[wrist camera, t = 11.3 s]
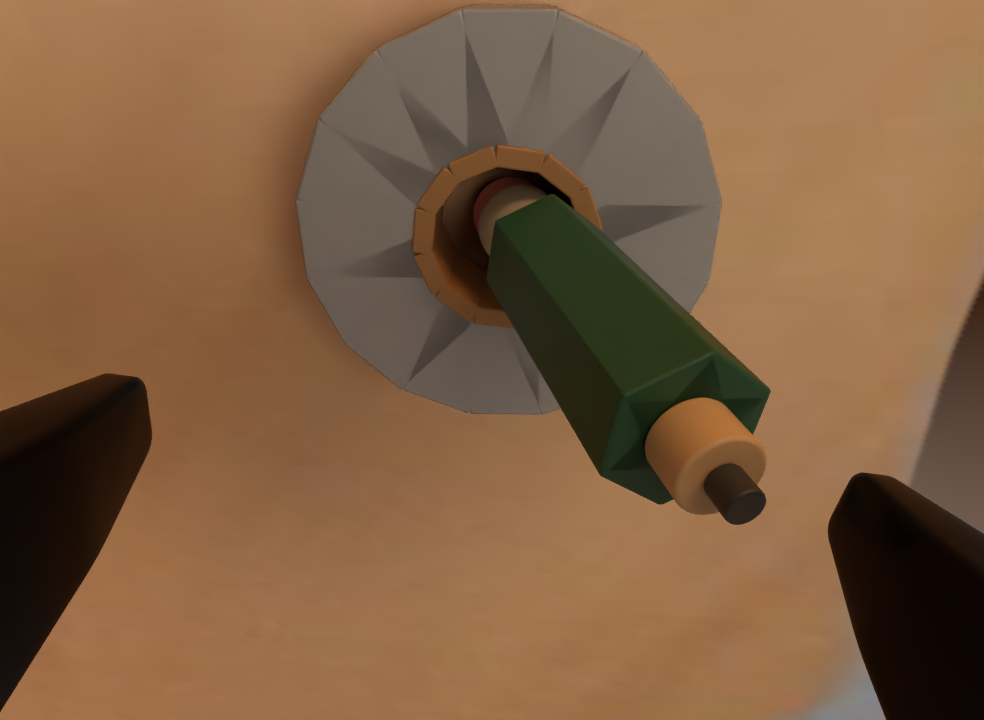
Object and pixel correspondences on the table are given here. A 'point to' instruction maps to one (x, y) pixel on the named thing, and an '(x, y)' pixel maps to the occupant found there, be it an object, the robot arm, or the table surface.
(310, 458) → the table surface
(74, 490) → the robot arm
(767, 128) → the table surface
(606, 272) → the pencil
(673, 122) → the tape
